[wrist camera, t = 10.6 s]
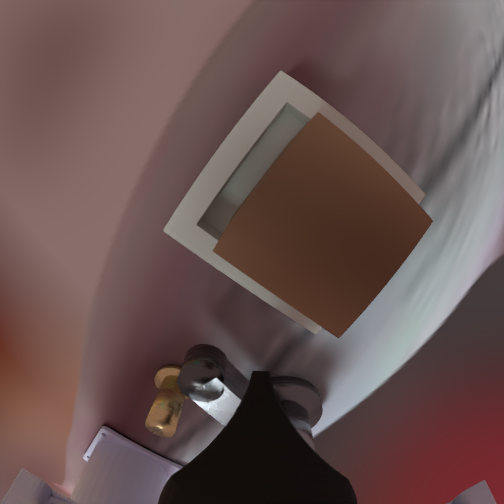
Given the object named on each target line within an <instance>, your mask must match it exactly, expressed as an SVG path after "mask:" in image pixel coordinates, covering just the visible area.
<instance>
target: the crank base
mask: <svg viewBox="0 0 504 504" xmlns="http://www.w3.org/2000/svg"><path fill="white" fill-rule="evenodd" d="M180 370H181V367H180V366H177V365H166V366H163V367H161V368H160V369H159V370H158V371H157V374H156V376H155V384H156V387H157V388H158V392H157V395H156V397H155V400H154V402H153V404H152V407H151V409H150V412H149V414H148V417H147V419H146V421H145V426H146V428H147V429H148V430H149V431H150V432H152V433H153V434H155V435H157V436H161V437H171V436H173V435H174V434H175V431H176V428H177V424H178V421H179V417H180V414H181V411H182V407H183V404H184V401H185V400H187V399H189V398H188V397H186V396H185V395H184V394H183V393H182V392H181V391H180V389H179V388H178V385H177V378H178V375H179V373H180ZM271 381H272V385H273V387H274V390H275V392H276V395H277V397H278V399H279V401H280V402H292V403H296V404H299V405H301V406H303V407H304V408H305V409H306V410H307V412H308V415H309V420H310V425H311V428H312V427H313V426H315V425H316V423H317V422H318V421H319V420H320V418H321V415H322V410H323V409H322V404H321V400H320V396H319V393H318V391H317V389H316V388H315V387H314V386H313V385H312V384H311V383H309V382H307V381H305V380H303V379H300V378H296V377H288V376H281V377H273V378H271Z"/></svg>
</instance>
